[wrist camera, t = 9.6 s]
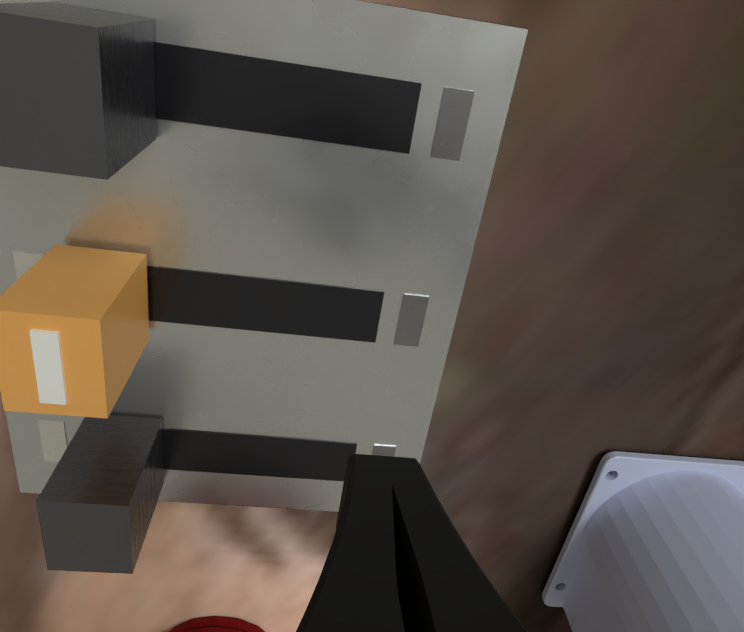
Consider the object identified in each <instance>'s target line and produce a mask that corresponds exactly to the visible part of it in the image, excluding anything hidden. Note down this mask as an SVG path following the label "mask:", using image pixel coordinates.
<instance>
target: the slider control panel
mask: <svg viewBox="0 0 744 632" xmlns="http://www.w3.org/2000/svg"><path fill="white" fill-rule="evenodd" d="M527 32H528V30H527V29H522V28H516V27H511V26H506V25H500V24H494V23H488V22H482V21H476V20H471V19H465V18H459V17H453V16H447V15H441V14H435V13H430V12H424V11H418V10H412V9H406V8H400V7H395V6H389V5H383V4H377V3H371V2H365V1H359V0H0V295H1V294H3V293H4V292H5V291H6V290H7V289H8V288H9V287H10V286H11V285H12V284H13V283H15V282H16V281H17V280H18V279H19V278H20V277H21V276H22V275H23V274H24V273H25V272H27V271H28V270H29V269H30V268H31V267H32V266H33V265H34V264H35V263H36V262H37V261H39V260H40V259H41V258H42V257H43V256H44V255H45V254H46V253H47V252H48V251H49V250H51V249H52V248H53V247H54V246H55V245H56V244H59V245H68V246H77V247H86V248H95V249H104V250H113V251H122V252H131V253H140V254H146V257H147V286H148V316H149V341H148V342H147V344H146V346H145V348H144V350H143V352H142V354H141V356H140V358H139V360H138V362H137V363H136V365H135V367H134V369H133V371H132V373H131V375H130V377H129V379H128V381H127V383H126V384H125V386H124V388H123V390H122V392H121V394H120V396H119V398H118V400H117V402H116V404H115V405H114V407H113V409H112V411H111V413H110V415H109V417H108V419H106V418H93V417H80V416H67V415H54V414H41V413H28V412H15V411H5V412H6V417H7V423H8V428H9V434H10V440H11V445H12V451H13V456H14V462H15V467H16V473H17V478H18V484H19V489H20V492H22V493H39V494H40V495H39V497H38V499H37V500H36V502H37V508H38V514H39V520H40V526H41V532H42V538H43V544H44V550H45V557H46V563H47V569H48V570H64V571H86V572H108V573H130V574H133V571H134V568H135V565H136V562H137V559H138V556H139V553H140V551H141V548H142V545H143V542H144V539H145V536H146V533H147V530H148V527H149V524H150V521H151V518H152V515H153V512H154V510H155V507H156V504H157V501H171V502H187V503H204V504H220V505H237V506H253V507H270V508H286V509H303V510H319V511H336V512H339V506H340V501H341V495H342V489H343V483H344V477H345V471H346V466H347V460H348V457H350V456H351V455H353V454H365V455H379V456H393V457H406V458H415V459H416V460H417V461H418V462H419V463H420V461H421V457H422V453H423V449H424V445H425V441H426V437H427V433H428V429H429V425H430V421H431V417H432V413H433V409H434V405H435V401H436V397H437V393H438V389H439V385H440V381H441V377H442V373H443V369H444V365H445V361H446V357H447V353H448V349H449V345H450V341H451V337H452V333H453V329H454V325H455V321H456V317H457V313H458V309H459V305H460V301H461V296H462V292H463V288H464V284H465V280H466V276H467V272H468V268H469V264H470V260H471V256H472V252H473V248H474V244H475V240H476V236H477V232H478V228H479V224H480V220H481V216H482V212H483V208H484V204H485V200H486V196H487V192H488V188H489V184H490V180H491V176H492V172H493V168H494V164H495V160H496V156H497V152H498V148H499V144H500V140H501V136H502V132H503V128H504V124H505V120H506V116H507V112H508V108H509V104H510V100H511V96H512V92H513V88H514V84H515V80H516V76H517V72H518V68H519V64H520V60H521V56H522V52H523V48H524V44H525V40H526V36H527Z"/></svg>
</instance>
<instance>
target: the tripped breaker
mask: <svg viewBox="0 0 744 632" xmlns="http://www.w3.org/2000/svg"><path fill="white" fill-rule="evenodd" d="M148 341H149V316H148V286H147V257H146V254H140V253H131V252H122V251H113V250H104V249H95V248H86V247H77V246H68V245H59V244H56V245H55V246H54V247H53V248H52V249H51V250H49V251H48V252H47V253H46V254H45V255H44V256H43V257H42V258H41V259H40V260H39V261H37V262H36V263H35V264H34V265H33V266H32V267H31V268H30V269H29V270H28V271H27V272H25V273H24V274H23V275H22V276H21V277H20V278H19V279H18V280H17V281H16V282H15V283H13V284H12V285H11V286H10V287H9V288H8V289H7V290H6V291H5V292H4V293H3V294H1V295H0V391H1V397H2V402H3V408H4V411H15V412H28V413H41V414H54V415H67V416H80V417H93V418H106V419H108V417H109V415H110V413H111V411H112V409H113V407H114V405H115V404H116V402H117V400H118V398H119V396H120V394H121V392H122V390H123V388H124V386H125V384H126V383H127V381H128V379H129V377H130V375H131V373H132V371H133V369H134V367H135V365H136V363H137V362H138V360H139V358H140V356H141V354H142V352H143V350H144V348H145V346H146V344H147V342H148Z"/></svg>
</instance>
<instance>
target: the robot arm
mask: <svg viewBox="0 0 744 632" xmlns="http://www.w3.org/2000/svg"><path fill="white" fill-rule="evenodd" d="M610 471H612V472H610ZM608 472H610V473H608ZM542 598H543V601H544V603H545V605H547V606H551V607H563V608H564V611H565V613H566V616H567V619H568V621H569V624H570V627H571V629H572V632H744V461H734V460H721V459H708V458H696V457H683V456H670V455H657V454H645V453H632V452H619V451H614V452H609V453H607V454H606V455H604V456H603V458H602V459H601V461H600V463H599V465H598V468H597V470H596V472H595V475H594V477H593V479H592V481H591V484H590V486H589V488H588V490H587V493H586V495H585V497H584V499H583V502H582V504H581V506H580V509H579V511H578V513H577V515H576V518H575V520H574V522H573V524H572V527H571V529H570V531H569V534H568V536H567V538H566V540H565V543H564V545H563V547H562V549H561V552H560V554H559V556H558V559H557V561H556V563H555V565H554V568H553V570H552V572H551V574H550V577H549V579H548V581H547V584H546V586H545V588H544V590H543V593H542ZM296 632H528V631H527V630H526V628H525V627H524V626H523V625H522V624H521V622H520V621H519V620H518V619H517V617H516V616H515V615H514V614H513V612H512V611H511V610H510V608H509V607H508V606H507V604H506V603H505V602H504V600H503V599H502V598H501V596H500V595H499V594H498V592H497V591H496V589H495V588H494V587H493V585H492V584H491V582H490V581H489V579H488V578H487V577H486V575H485V574H484V572H483V571H482V570H481V568H480V567H479V565H478V564H477V562H476V561H475V559H474V558H473V556H472V555H471V553H470V551H469V550H468V548H467V547H466V545H465V543H464V542H463V540H462V539H461V537H460V535H459V534H458V532H457V531H456V529H455V527H454V526H453V524H452V522H451V521H450V519H449V517H448V516H447V514H446V512H445V510H444V509H443V507H442V505H441V503H440V502H439V500H438V498H437V496H436V494H435V493H434V491H433V489H432V487H431V485H430V483H429V481H428V479H427V477H426V475H425V474H424V472H423V470H422V468H421V466H420V463H419V462H418V461H417V460H416V459H415V458H406V457H393V456H379V455H365V454H353V455H351V456H350V457H348V460H347V466H346V471H345V477H344V483H343V489H342V495H341V501H340V506H339V512H338V518H337V526H336V533H335V536H334V540H333V543H332V546H331V548H330V551H329V554H328V556H327V559H326V562H325V565H324V567H323V570H322V573H321V575H320V578H319V581H318V583H317V586H316V588H315V590H314V593H313V595H312V598H311V600H310V602H309V604H308V607H307V609H306V611H305V613H304V616H303V618H302V620H301V622H300V624H299V626H298V629H297V631H296Z"/></svg>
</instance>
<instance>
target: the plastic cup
mask: <svg viewBox="0 0 744 632" xmlns="http://www.w3.org/2000/svg"><path fill="white" fill-rule="evenodd" d="M170 632H264V631H263V630H262V629H261V628H259V627H258V626H256V625H253V624H251V623H248V622H245V621H243V620H240V619H235V618H226V617H217V616H214V617H206V618H199V619H192V620H190V621H188V622H185V623H183V624H181V625H179V626H176V627H174V628H173V629H172V630H171V631H170Z"/></svg>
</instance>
